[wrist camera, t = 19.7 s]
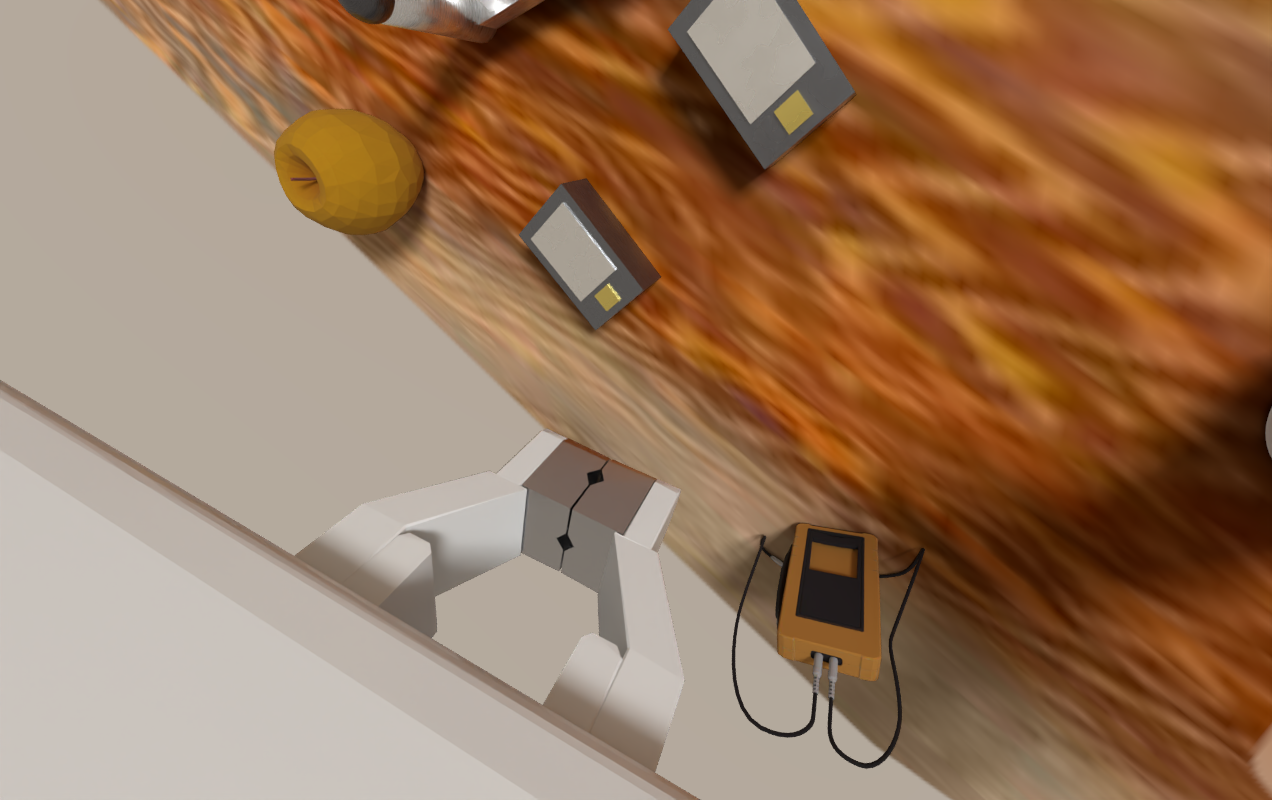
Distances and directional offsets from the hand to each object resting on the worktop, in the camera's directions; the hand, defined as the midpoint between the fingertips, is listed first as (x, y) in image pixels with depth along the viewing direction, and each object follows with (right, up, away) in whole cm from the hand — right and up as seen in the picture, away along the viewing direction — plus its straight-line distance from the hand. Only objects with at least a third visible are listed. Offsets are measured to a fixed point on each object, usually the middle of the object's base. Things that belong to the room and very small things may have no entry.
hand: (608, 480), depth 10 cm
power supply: (-2, +15, +32) cm, 35 cm away
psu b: (+9, +23, +21) cm, 33 cm away
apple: (-21, +24, +36) cm, 48 cm away
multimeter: (+21, -15, +38) cm, 46 cm away
